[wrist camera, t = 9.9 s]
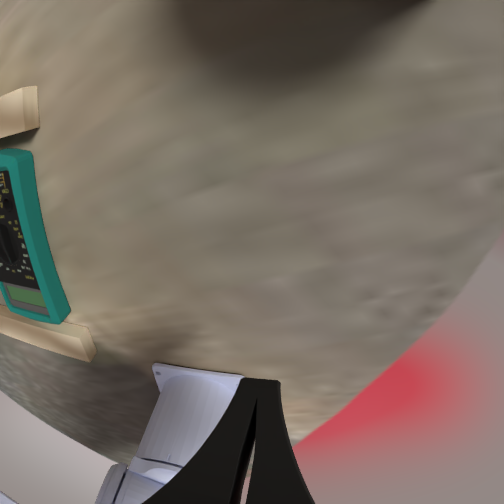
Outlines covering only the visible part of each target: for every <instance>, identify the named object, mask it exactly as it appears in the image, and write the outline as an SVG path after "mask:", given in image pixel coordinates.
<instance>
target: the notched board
mask: <svg viewBox="0 0 504 504" xmlns="http://www.w3.org/2000/svg"><path fill="white" fill-rule="evenodd" d="M38 127H40V124H39V112H38V96H37V86H31V87H23V88H20V89H18V90H15V91H13V92H10V93H8V94H6V95H3V96H1V97H0V138H3V137H6V136H9V135H13V134H16V133H20V132H24V131H27V130H31V129H34V128H38ZM0 333H3V334H5V335H8V336H10V337H13V338H16V339H18V340H21V341H24V342H27V343H29V344H32V345H35V346H38V347H41V348H44V349H47V350H50V351H53V352H56V353H59V354H63V355H66V356H69V357H73V358H76V359H79V360H83V361H87V362H91V360H92V359H93V357H94V356H95V354H96V353H97V350H96V347H95V345H94V342H93V340H92V338H91V335H90V332H89V330H88V327H83V326H79V325H75V324H70V323H66V322H62V323H61V324H60V325H57V324H50V323H44V322H39V321H36V320H32V319H29V318H26V317H24V316H21V315H19V314H16V313H13V312H11V311H10V310H9V309H8V307H7V306H3V305H0Z"/></svg>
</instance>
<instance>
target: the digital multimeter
mask: <svg viewBox="0 0 504 504" xmlns="http://www.w3.org/2000/svg"><path fill="white" fill-rule="evenodd" d="M11 265H12V266H11ZM0 289H1V292H2V294H3V297H4V299H5V302H6V304H7V307H8V309H9V310H10V311H11V312H13V313H16V314H19V315H21V316H24V317H26V318H29V319H32V320H36V321H39V322H44V323H50V324H57V325H60V324H61V323H62V322H63V320H64V319H65V318H66V317H67V316H68V314H69V313H70V312H71V310H70V307H69V304H68V301H67V299H66V296H65V293H64V291H63V288H62V285H61V282H60V280H59V277H58V274H57V271H56V268H55V265H54V261H53V258H52V255H51V251H50V248H49V244H48V240H47V237H46V233H45V228H44V224H43V219H42V214H41V209H40V203H39V198H38V193H37V186H36V179H35V170H34V162H33V156H32V153H31V152H30V151H27V150H21V149H13V148H7V149H2V150H0Z"/></svg>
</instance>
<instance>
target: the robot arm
mask: <svg viewBox="0 0 504 504" xmlns="http://www.w3.org/2000/svg"><path fill="white" fill-rule="evenodd" d="M152 370H153V373H154V376H155V379H156V382H157V385H158V388H159V391H160V395H159V398H158V400H157V403H156V405H155V408H154V410H153V412H152V415H151V417H150V420H149V422H148V425H147V427H146V430H145V432H144V435H143V437H142V440H141V442H140V445H139V447H138V450H137V452H136V455H135V456H133V458H132V461H131V463H130V466H129V468H128V469H127V466H128V464H125V463H123V462H120V463H119V464H115V465H112V466H111V468H110V469H109V471H108V473H107V475H106V477H105V479H104V482H103V484H102V486H101V489H100V491H99V494H98V496H97V499H96V502H95V504H240V501H241V494H242V489H243V485H244V480H245V477H246V473H247V469H248V465H249V461H250V458H251V454H252V450H253V446H254V442H255V453H254V461H253V466H252V472H251V478H250V483H249V489H248V494H247V499H246V504H315V502H314V500H313V498H312V497H311V495H310V493H309V491H308V488H307V486H306V484H305V482H304V479H303V477H302V474H301V472H300V469H299V467H298V464H297V461H296V459H295V456H294V453H293V450H292V446H291V443H290V440H289V436H288V432H287V428H286V424H285V420H284V415H283V409H282V403H281V391H280V384H281V383H280V382H279V381H278V380H267V379H256V378H245V377H244V376H242V375H237V374H228V373H220V372H212V371H204V370H197V369H191V368H184V367H178V366H172V365H166V364H160V363H154V364H153V366H152ZM0 504H18V503H17V502H15V501H14V500H13V499H11V498H10V497H8V496H7V495H6V494H4V493H3V492H1V491H0Z"/></svg>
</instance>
